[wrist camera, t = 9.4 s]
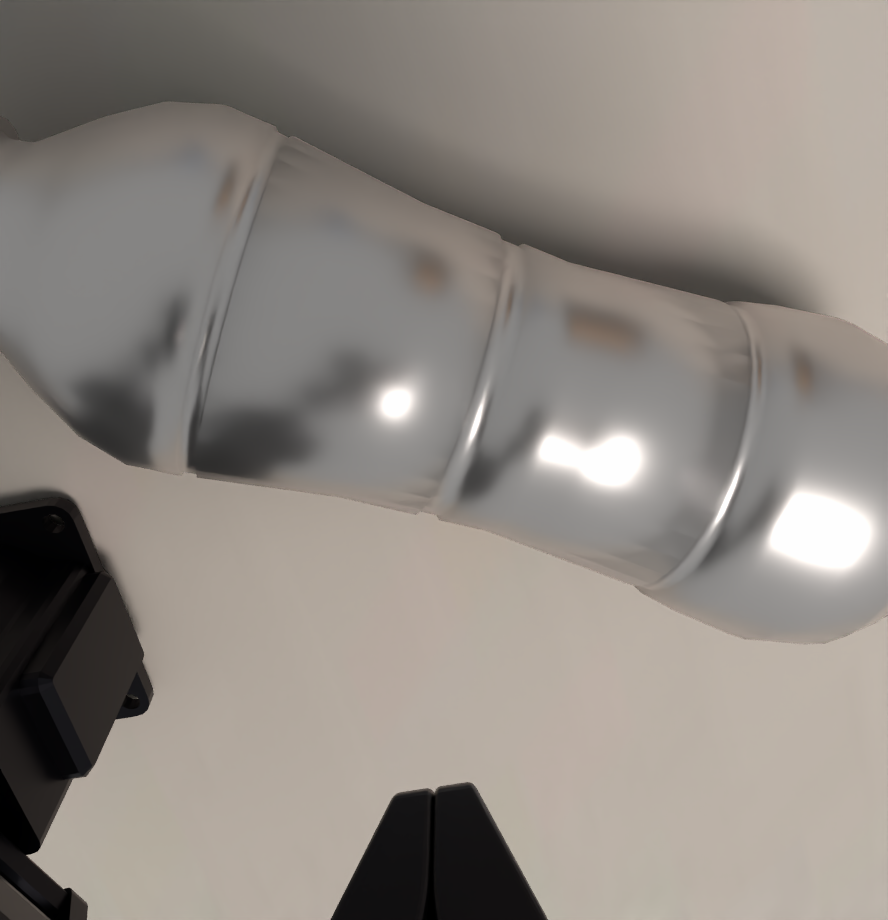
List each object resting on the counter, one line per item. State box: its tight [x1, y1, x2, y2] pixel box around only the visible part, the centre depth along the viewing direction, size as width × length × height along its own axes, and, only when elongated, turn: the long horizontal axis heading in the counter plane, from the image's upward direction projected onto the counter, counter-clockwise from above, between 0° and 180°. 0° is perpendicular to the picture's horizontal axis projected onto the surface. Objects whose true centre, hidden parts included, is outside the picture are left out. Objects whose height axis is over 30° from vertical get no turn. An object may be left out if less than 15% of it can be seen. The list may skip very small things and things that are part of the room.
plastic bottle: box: [0, 101, 888, 644], centre depth 16 cm, size 6×7×20 cm
